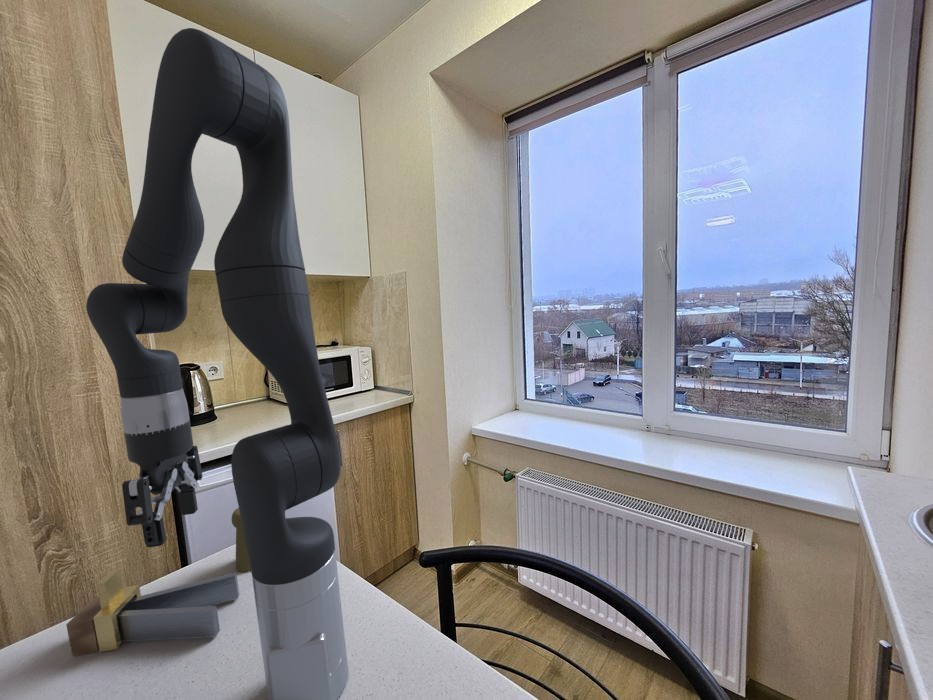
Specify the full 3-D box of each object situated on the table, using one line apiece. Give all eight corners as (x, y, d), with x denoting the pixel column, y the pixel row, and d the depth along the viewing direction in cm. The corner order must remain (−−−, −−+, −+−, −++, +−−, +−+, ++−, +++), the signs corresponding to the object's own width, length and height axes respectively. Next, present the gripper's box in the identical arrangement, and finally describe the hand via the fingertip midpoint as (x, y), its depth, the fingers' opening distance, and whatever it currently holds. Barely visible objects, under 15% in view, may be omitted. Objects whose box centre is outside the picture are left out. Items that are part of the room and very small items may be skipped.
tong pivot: (72, 656, 55) (66, 624, 54) (99, 627, 60) (93, 598, 59) (98, 651, 55) (92, 620, 55) (122, 623, 60) (117, 594, 60)
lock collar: (99, 652, 55) (88, 591, 54) (128, 618, 61) (118, 563, 60) (117, 649, 55) (106, 588, 54) (144, 616, 61) (134, 561, 60)
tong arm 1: (107, 641, 57) (102, 616, 56) (113, 636, 58) (108, 611, 57) (215, 636, 56) (211, 611, 56) (220, 630, 57) (216, 605, 57)
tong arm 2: (118, 630, 58) (113, 606, 58) (121, 625, 59) (117, 601, 59) (238, 598, 64) (234, 575, 63) (239, 594, 65) (236, 571, 64)
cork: (227, 569, 72) (219, 513, 71) (253, 549, 78) (247, 497, 76) (253, 574, 70) (245, 517, 69) (278, 553, 76) (271, 500, 75)
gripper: (155, 436, 50) (174, 553, 51) (209, 408, 64) (223, 501, 65) (89, 443, 48) (111, 563, 50) (159, 412, 62) (174, 507, 64)
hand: (174, 528), depth 58 cm, fingers open, 8 cm apart
